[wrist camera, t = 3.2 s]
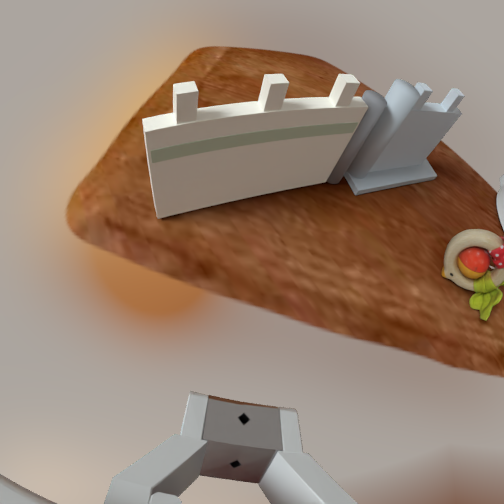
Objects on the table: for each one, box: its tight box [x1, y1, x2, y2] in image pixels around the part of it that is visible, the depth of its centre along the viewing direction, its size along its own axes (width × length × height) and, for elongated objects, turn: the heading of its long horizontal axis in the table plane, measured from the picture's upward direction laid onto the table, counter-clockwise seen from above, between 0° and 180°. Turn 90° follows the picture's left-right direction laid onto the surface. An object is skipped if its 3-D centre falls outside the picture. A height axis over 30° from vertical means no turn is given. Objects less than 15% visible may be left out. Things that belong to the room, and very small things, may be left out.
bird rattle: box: [441, 229, 504, 321], centre depth 25 cm, size 6×11×9 cm
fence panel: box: [142, 74, 387, 219], centre depth 23 cm, size 18×2×12 cm, turn 110°
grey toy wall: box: [344, 79, 464, 195], centre depth 28 cm, size 13×5×12 cm, turn 110°
